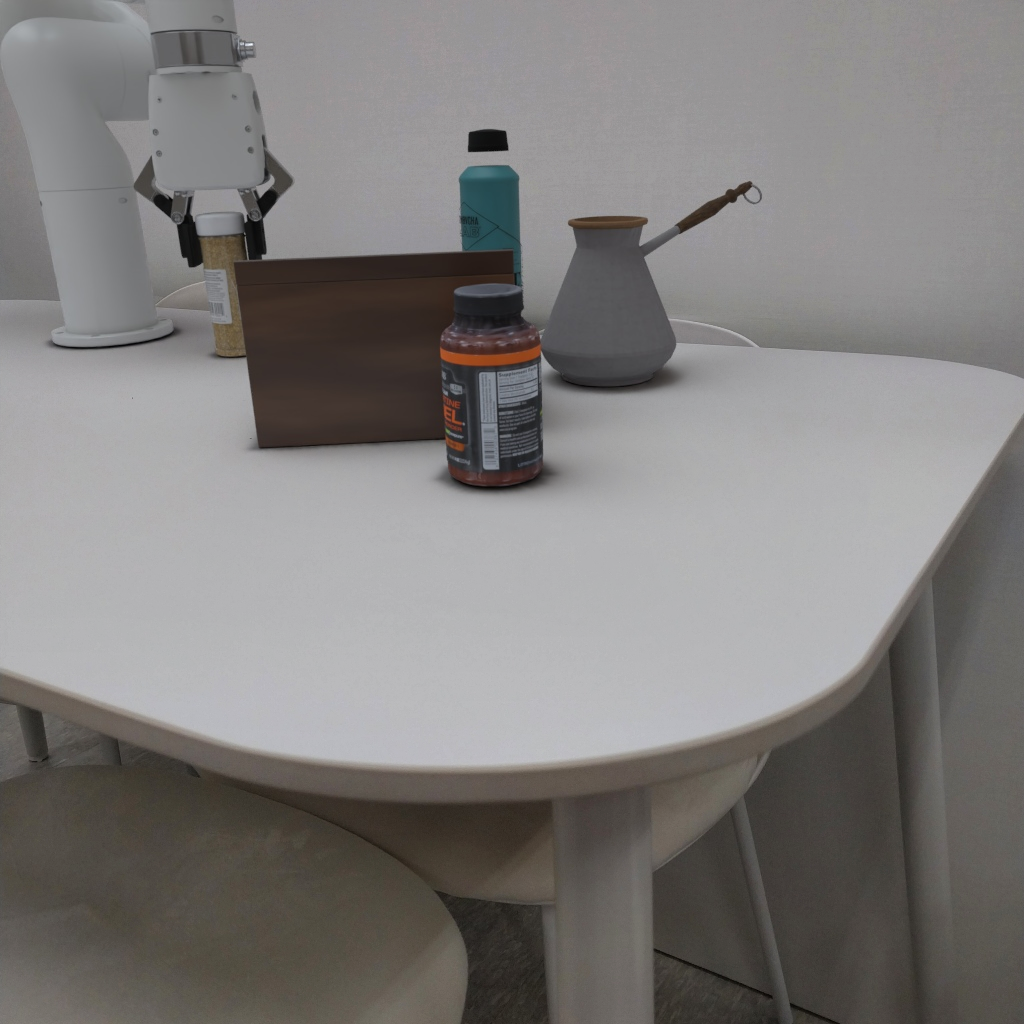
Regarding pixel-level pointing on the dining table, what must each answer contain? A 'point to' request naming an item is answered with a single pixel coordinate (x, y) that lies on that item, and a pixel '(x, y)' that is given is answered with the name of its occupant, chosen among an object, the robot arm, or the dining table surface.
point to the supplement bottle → (492, 388)
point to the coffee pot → (615, 301)
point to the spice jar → (223, 276)
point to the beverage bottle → (490, 201)
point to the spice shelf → (353, 342)
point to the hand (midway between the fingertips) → (225, 262)
